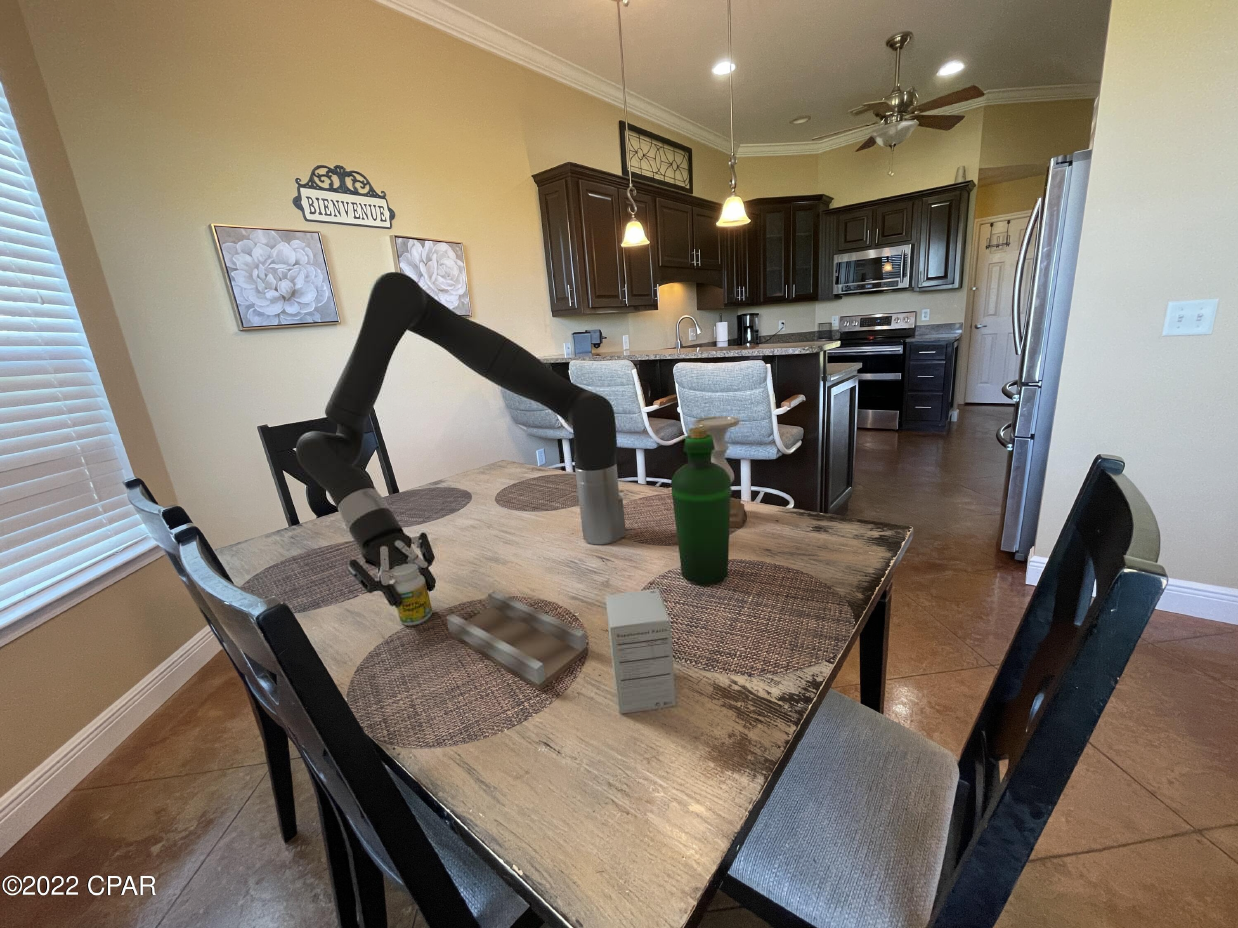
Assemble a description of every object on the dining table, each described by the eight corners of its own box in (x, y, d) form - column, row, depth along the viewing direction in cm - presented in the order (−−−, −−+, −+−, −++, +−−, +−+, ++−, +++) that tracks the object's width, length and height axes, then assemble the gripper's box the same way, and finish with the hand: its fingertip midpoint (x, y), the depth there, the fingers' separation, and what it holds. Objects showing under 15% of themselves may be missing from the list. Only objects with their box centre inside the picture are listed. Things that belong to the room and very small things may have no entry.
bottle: (739, 565, 92) (736, 422, 84) (726, 594, 82) (722, 436, 75) (685, 558, 96) (678, 422, 89) (668, 585, 87) (658, 435, 79)
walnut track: (450, 636, 78) (446, 617, 77) (497, 608, 85) (494, 590, 84) (539, 690, 64) (536, 668, 63) (587, 652, 71) (585, 631, 70)
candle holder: (741, 528, 108) (738, 425, 101) (692, 526, 112) (687, 426, 105) (744, 510, 118) (743, 415, 111) (700, 508, 121) (696, 416, 115)
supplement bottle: (429, 605, 88) (418, 558, 85) (436, 618, 83) (424, 568, 81) (397, 616, 85) (385, 568, 82) (403, 630, 80) (390, 579, 78)
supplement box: (613, 674, 66) (604, 593, 62) (666, 667, 66) (660, 586, 63) (618, 716, 59) (608, 626, 55) (677, 707, 59) (671, 618, 56)
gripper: (329, 522, 78) (378, 608, 74) (411, 495, 89) (459, 569, 84) (324, 545, 83) (370, 626, 79) (404, 517, 94) (448, 587, 89)
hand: (416, 596), depth 82 cm, fingers closed on supplement bottle, 5 cm apart
